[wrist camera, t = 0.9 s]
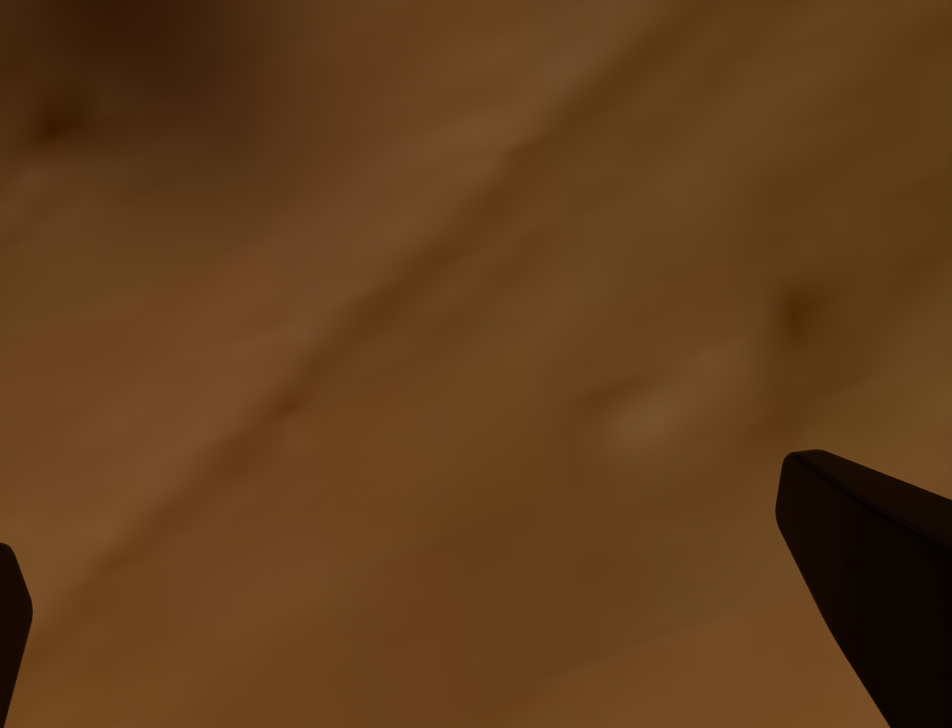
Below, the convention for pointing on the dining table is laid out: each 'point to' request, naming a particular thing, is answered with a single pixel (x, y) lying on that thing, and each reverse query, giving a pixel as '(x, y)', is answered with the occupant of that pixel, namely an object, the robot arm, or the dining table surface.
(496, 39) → the dining table surface
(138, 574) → the dining table surface
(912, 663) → the robot arm
